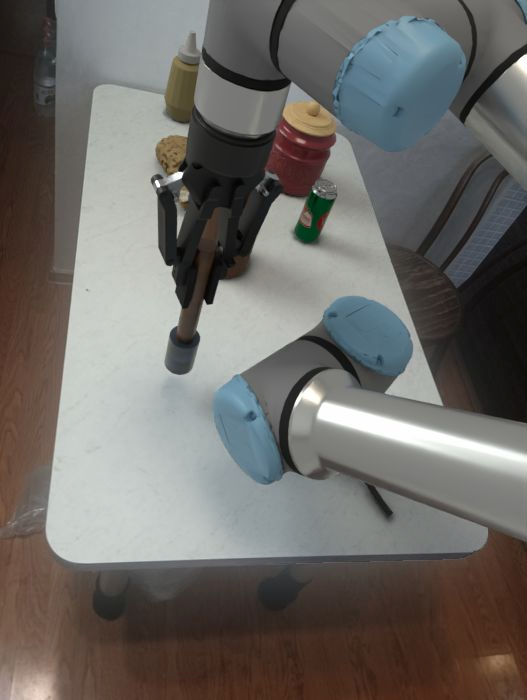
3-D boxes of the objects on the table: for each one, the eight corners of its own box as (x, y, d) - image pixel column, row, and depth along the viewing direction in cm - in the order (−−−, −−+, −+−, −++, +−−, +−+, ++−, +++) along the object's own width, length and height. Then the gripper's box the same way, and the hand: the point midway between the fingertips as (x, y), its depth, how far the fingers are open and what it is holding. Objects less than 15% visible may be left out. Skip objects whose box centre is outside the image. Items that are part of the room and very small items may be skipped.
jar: (257, 261, 99) (278, 200, 88) (224, 287, 93) (242, 225, 82) (215, 231, 101) (231, 168, 90) (180, 255, 95) (192, 190, 84)
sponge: (229, 224, 105) (219, 146, 113) (231, 198, 98) (220, 116, 106) (160, 227, 103) (155, 148, 111) (157, 200, 96) (152, 117, 104)
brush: (199, 363, 75) (231, 247, 58) (180, 380, 73) (208, 263, 56) (177, 346, 76) (203, 227, 59) (158, 362, 74) (179, 242, 57)
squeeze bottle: (192, 129, 119) (206, 47, 106) (157, 117, 119) (167, 32, 105) (202, 113, 125) (217, 31, 111) (168, 100, 124) (179, 17, 110)
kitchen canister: (248, 166, 116) (270, 88, 103) (290, 155, 124) (316, 80, 110) (287, 203, 112) (315, 126, 99) (328, 189, 119) (360, 115, 106)
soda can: (290, 227, 108) (309, 176, 98) (312, 226, 110) (333, 177, 100) (298, 244, 105) (319, 194, 96) (321, 244, 107) (343, 195, 98)
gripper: (294, 93, 51) (240, 268, 69) (135, 88, 45) (120, 283, 63) (330, 140, 48) (263, 312, 66) (162, 142, 41) (139, 333, 59)
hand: (193, 297), depth 64 cm, fingers closed on brush, 2 cm apart
